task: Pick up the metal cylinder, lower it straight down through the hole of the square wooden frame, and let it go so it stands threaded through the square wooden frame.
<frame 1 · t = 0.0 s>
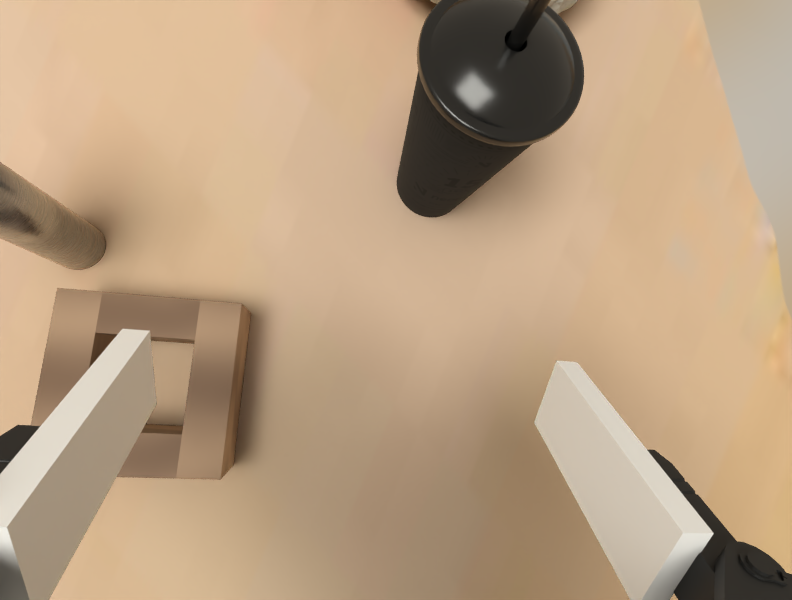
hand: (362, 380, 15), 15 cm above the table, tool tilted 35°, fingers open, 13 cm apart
drinking cup: (428, 186, 34), on the table
metal cylinder: (79, 246, 29), on the table
square wooden frame: (162, 382, 28), on the table
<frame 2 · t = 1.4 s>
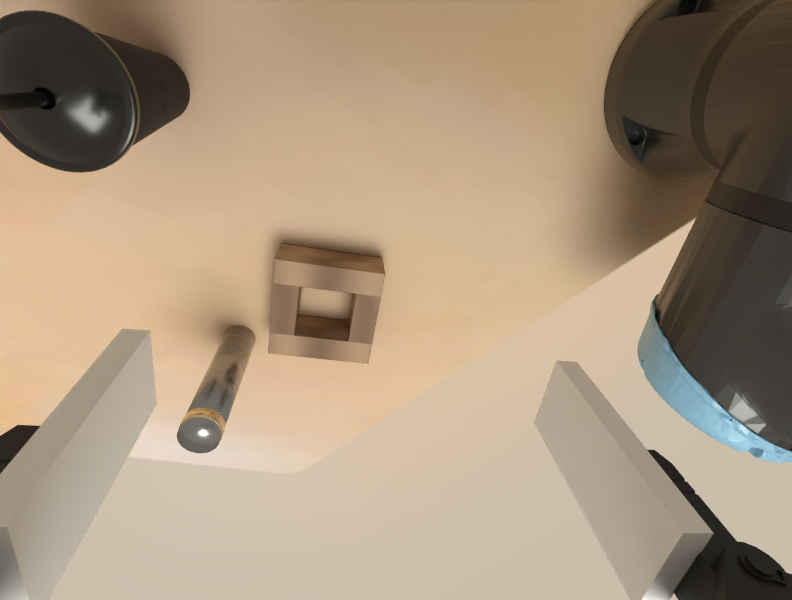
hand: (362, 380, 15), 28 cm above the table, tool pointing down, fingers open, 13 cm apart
drinking cup: (158, 87, 36), on the table
metal cylinder: (240, 338, 46), on the table
square wooden frame: (326, 295, 45), on the table
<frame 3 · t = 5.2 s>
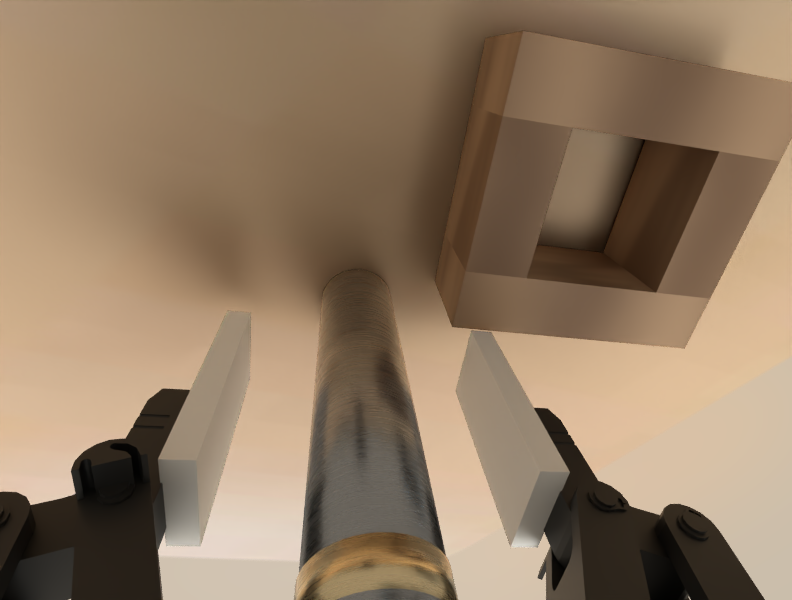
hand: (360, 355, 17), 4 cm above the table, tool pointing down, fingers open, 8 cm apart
metal cylinder: (356, 300, 20), on the table
square wooden frame: (568, 189, 19), on the table, touching gripper
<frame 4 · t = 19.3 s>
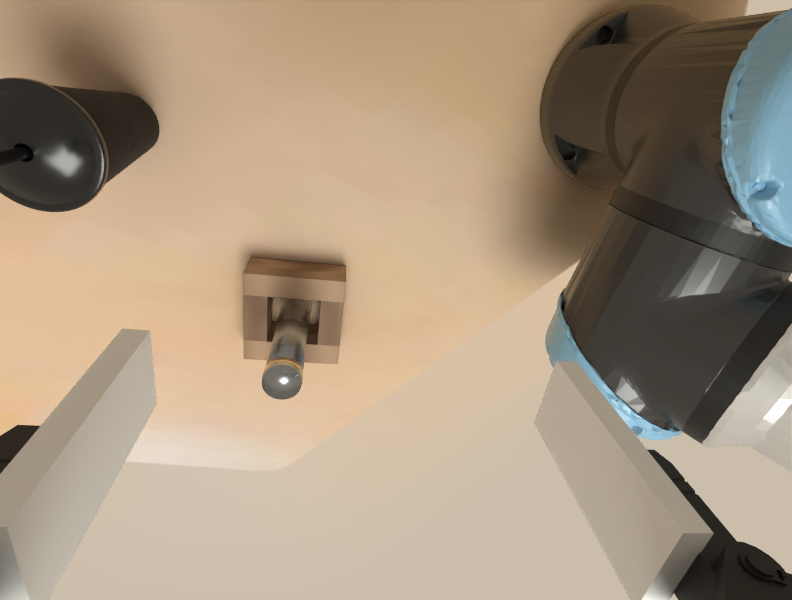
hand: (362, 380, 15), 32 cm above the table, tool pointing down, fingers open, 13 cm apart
drinking cup: (130, 124, 40), on the table
metal cylinder: (297, 303, 49), resting in square wooden frame
square wooden frame: (296, 302, 49), on the table
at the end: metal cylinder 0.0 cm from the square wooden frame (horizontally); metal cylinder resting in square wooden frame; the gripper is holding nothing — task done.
